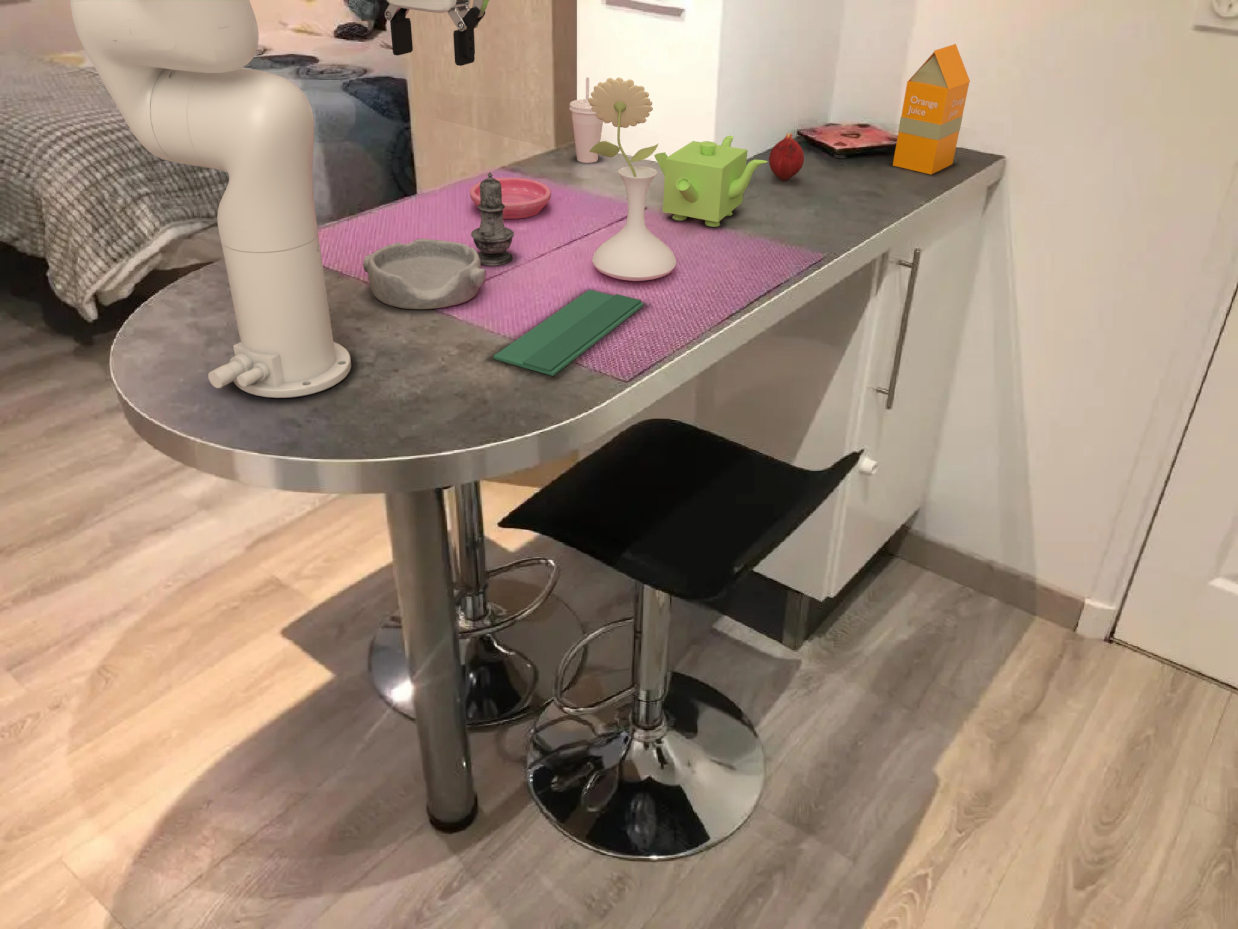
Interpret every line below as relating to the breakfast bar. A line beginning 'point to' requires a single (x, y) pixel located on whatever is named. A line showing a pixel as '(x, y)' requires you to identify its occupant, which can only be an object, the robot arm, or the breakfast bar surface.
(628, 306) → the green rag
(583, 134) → the smoothie
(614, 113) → the flower in vase
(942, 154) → the orange juice
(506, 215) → the saucer
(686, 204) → the kettle
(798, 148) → the onion
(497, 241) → the salt shaker
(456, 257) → the dish
